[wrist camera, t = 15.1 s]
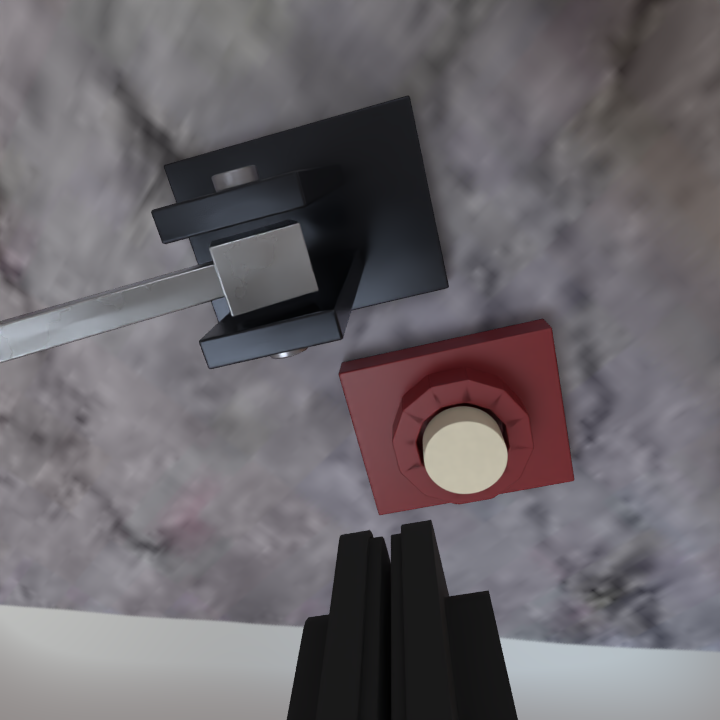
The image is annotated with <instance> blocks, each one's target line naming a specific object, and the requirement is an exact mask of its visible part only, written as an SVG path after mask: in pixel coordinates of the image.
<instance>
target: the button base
mask: <svg viewBox="0 0 720 720" xmlns="http://www.w3.org/2000/svg"><path fill="white" fill-rule="evenodd" d="M339 377H340V381H341V384H342V388H343V391H344V395H345V398H346V402H347V405H348V408H349V412H350V415H351V419H352V422H353V426H354V429H355V433H356V436H357V440H358V443H359V447H360V450H361V454H362V457H363V461H364V464H365V468H366V471H367V475H368V478H369V482H370V485H371V489H372V492H373V496H374V499H375V503H376V506H377V510H378V513H379V515H383V514H389V513H394V512H400V511H406V510H411V509H417V508H423V507H428V506H434V505H440V504H446V503H454V504H464V503H470V502H475V501H481V500H487V499H491V498H494V497H495V496H497V495H498V494H502V493H508V492H514V491H519V490H525V489H531V488H536V487H542V486H548V485H553V484H559V483H565V482H570V481H574V474H573V467H572V460H571V454H570V447H569V440H568V433H567V427H566V420H565V413H564V406H563V400H562V393H561V386H560V380H559V373H558V366H557V359H556V353H555V346H554V339H553V332H552V328H551V327H550V326H549V324H548V323H547V322H546V321H545V320H544V319H539V320H535V321H530V322H526V323H521V324H516V325H512V326H507V327H503V328H498V329H494V330H489V331H485V332H480V333H475V334H471V335H466V336H462V337H457V338H453V339H448V340H443V341H439V342H434V343H430V344H425V345H421V346H416V347H411V348H407V349H402V350H398V351H393V352H389V353H384V354H379V355H375V356H370V357H366V358H361V359H357V360H352V361H348V362H343V363H342V364H341V368H340V371H339ZM458 406H468V407H474V408H477V409H480V410H482V411H484V412H486V413H487V414H489V415H490V416H491V417H492V418H493V419H494V420H495V421H496V423H497V424H498V426H499V428H500V431H501V434H502V436H503V439H504V442H505V444H506V448H507V453H508V460H507V465H506V468H505V470H504V472H503V474H502V476H501V477H500V478H499V479H498V481H497V482H495V483H494V484H493V485H492V486H490V487H489V488H487V489H485V490H482V491H480V492H476V493H471V494H459V493H453V492H450V491H447V490H445V489H443V488H441V487H440V486H438V485H437V484H436V483H435V482H434V481H433V480H432V479H431V478H430V476H429V475H428V473H427V471H426V468H425V464H424V455H423V435H424V431H425V429H426V427H427V425H428V424H429V422H430V421H431V420H432V419H433V418H434V417H435V416H436V415H437V414H439V413H440V412H442V411H444V410H446V409H449V408H453V407H458Z"/></svg>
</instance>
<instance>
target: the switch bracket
mask: <svg viewBox="0 0 720 720" xmlns="http://www.w3.org/2000/svg"><path fill="white" fill-rule="evenodd" d="M164 169H165V171H166V174H167V177H168V180H169V183H170V186H171V189H172V191H173V194H174V197H175V200H176V204H172V205H168V206H165V207H161V208H157V209H154V210H152V211H151V213H152V216H153V219H154V221H155V224H156V227H157V230H158V232H159V235H160V238H161V240H162V243H163V244H168V243H172V242H175V241H179V240H183V239H187V238H189V240H190V243H191V245H192V248H193V251H194V254H195V257H196V260H197V263H198V265H199V264H203V263H206V262H210V261H213V260H212V257H211V254H210V251H209V246H210V244H211V242H212V241H215V240H218V239H222V238H225V237H229V236H233V235H236V234H240V233H243V232H247V231H250V230H254V229H258V228H261V227H265V226H268V225H272V224H275V223H279V222H283V221H286V220H294V221H297V222H299V223H300V225H301V229H302V233H303V236H304V240H305V243H306V247H307V250H308V254H309V257H310V261H311V264H312V268H313V271H314V275H315V278H316V282H317V285H318V289H319V291H318V292H315V293H312V294H308V295H305V296H302V297H298V298H295V299H292V300H288V301H285V302H282V303H278V304H275V305H272V306H268V307H265V308H262V309H258V310H255V311H252V312H248V313H245V314H242V315H238V316H235V317H232V315H231V313H230V310H229V307H228V304H227V301H226V298H225V297H223V298H220V299H216V300H213V301H211V302H212V305H213V308H214V311H215V314H216V317H217V320H218V322H219V323H218V324H217V325H215V326H214V327H213V328H212V329H211V330H210V331H209V332H208V333H207V334H206V335H205V336H204V337H203V338H202V339H201V340H199V344H200V346H201V349H202V352H203V355H204V357H205V360H206V363H207V365H208V368H209V369H214V368H218V367H223V366H227V365H231V364H236V363H240V362H245V361H249V360H254V359H258V358H262V357H267V356H270V357H271V358H273V359H281V358H287V357H291V356H294V355H297V354H299V353H301V352H303V351H305V350H306V349H307V348H308V347H311V346H316V345H320V344H325V343H329V342H334V341H338V340H342V339H343V337H344V333H345V330H346V327H347V323H348V320H349V317H350V313H351V310H355V309H359V308H364V307H368V306H372V305H377V304H381V303H385V302H390V301H394V300H398V299H402V298H407V297H411V296H415V295H420V294H424V293H428V292H433V291H437V290H441V289H445V288H448V287H449V285H448V280H447V275H446V271H445V266H444V261H443V256H442V251H441V246H440V241H439V237H438V232H437V227H436V222H435V217H434V212H433V207H432V203H431V198H430V193H429V188H428V183H427V178H426V174H425V169H424V164H423V159H422V154H421V149H420V144H419V140H418V135H417V130H416V125H415V120H414V115H413V111H412V106H411V101H410V97H409V96H405V97H401V98H398V99H394V100H391V101H387V102H384V103H380V104H377V105H373V106H370V107H366V108H363V109H359V110H356V111H352V112H349V113H345V114H342V115H338V116H335V117H331V118H328V119H324V120H321V121H317V122H314V123H310V124H307V125H303V126H300V127H296V128H293V129H289V130H286V131H282V132H279V133H275V134H272V135H268V136H265V137H261V138H258V139H254V140H251V141H247V142H244V143H240V144H237V145H233V146H230V147H226V148H223V149H219V150H216V151H212V152H209V153H205V154H202V155H198V156H195V157H191V158H188V159H184V160H181V161H177V162H174V163H170V164H167V165H164Z"/></svg>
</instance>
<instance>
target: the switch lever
mask: <svg viewBox="0 0 720 720" xmlns="http://www.w3.org/2000/svg"><path fill="white" fill-rule="evenodd" d="M209 251H210V254H211V257H212V260H213V261H210V262H206V263H203V264H199V265H196V266H192V267H189V268H185V269H182V270H178V271H175V272H171V273H168V274H164V275H161V276H157V277H154V278H150V279H147V280H143V281H140V282H136V283H133V284H129V285H126V286H122V287H119V288H115V289H112V290H108V291H105V292H101V293H98V294H94V295H91V296H87V297H84V298H80V299H77V300H73V301H70V302H66V303H63V304H59V305H56V306H52V307H49V308H45V309H42V310H38V311H34V312H31V313H27V314H24V315H20V316H17V317H13V318H10V319H6V320H3V321H0V363H3V362H6V361H9V360H13V359H16V358H20V357H23V356H26V355H30V354H33V353H37V352H40V351H43V350H47V349H50V348H54V347H57V346H60V345H64V344H67V343H70V342H74V341H77V340H81V339H84V338H87V337H91V336H94V335H98V334H101V333H104V332H108V331H111V330H115V329H118V328H121V327H125V326H128V325H132V324H135V323H138V322H142V321H145V320H149V319H152V318H155V317H159V316H162V315H166V314H169V313H172V312H176V311H179V310H182V309H186V308H189V307H193V306H196V305H199V304H203V303H206V302H210V301H213V300H216V299H220V298H223V297H225V298H226V301H227V304H228V307H229V310H230V313H231V315H232V317H235V316H238V315H242V314H245V313H248V312H252V311H255V310H258V309H262V308H265V307H268V306H272V305H275V304H278V303H282V302H285V301H288V300H292V299H295V298H298V297H302V296H305V295H308V294H312V293H315V292H318V291H319V289H318V285H317V282H316V278H315V275H314V271H313V268H312V264H311V261H310V257H309V254H308V250H307V247H306V243H305V240H304V236H303V233H302V229H301V225H300V223H299V222H297V221H294V220H286V221H283V222H279V223H275V224H272V225H268V226H265V227H261V228H258V229H254V230H250V231H247V232H243V233H240V234H236V235H233V236H229V237H225V238H222V239H218V240H215V241H212V242H211V244H210V246H209Z"/></svg>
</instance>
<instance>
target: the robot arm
mask: <svg viewBox="0 0 720 720" xmlns="http://www.w3.org/2000/svg"><path fill="white" fill-rule="evenodd" d="M287 720H518V718H517V714H516V709H515V705H514V700H513V696H512V692H511V687H510V683H509V678H508V674H507V670H506V665H505V661H504V656H503V652H502V648H501V643H500V639H499V634H498V630H497V625H496V621H495V616H494V612H493V608H492V603H491V599H490V594H489V591H483V592H476V593H469V594H463V595H456V596H449V594H448V589H447V585H446V581H445V576H444V572H443V568H442V563H441V559H440V555H439V550H438V546H437V542H436V537H435V533H434V529H433V525H432V521H431V520H428V521H422V522H416V523H410V524H404V525H402V526H401V533H400V534H394V535H391V562H390V559H389V555H388V551H387V547H386V544H385V540H384V538H383V537H376V538H373V534H372V532H371V531H370V530H368V531H362V532H356V533H350V534H344V535H341V536H340V539H339V545H338V553H337V560H336V568H335V576H334V583H333V591H332V598H331V606H330V613H329V615H322V616H315V617H309V618H308V619H307V620H306V621H305V625H304V629H303V634H302V639H301V645H300V650H299V656H298V661H297V666H296V672H295V678H294V683H293V688H292V694H291V700H290V705H289V710H288V716H287Z"/></svg>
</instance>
